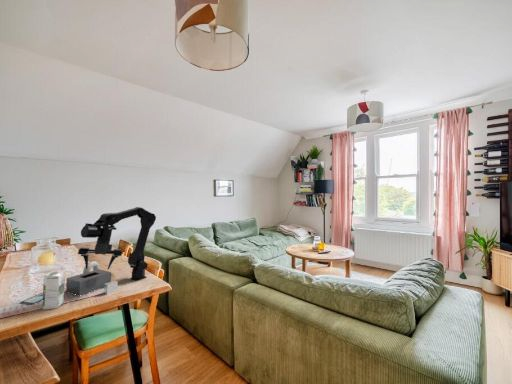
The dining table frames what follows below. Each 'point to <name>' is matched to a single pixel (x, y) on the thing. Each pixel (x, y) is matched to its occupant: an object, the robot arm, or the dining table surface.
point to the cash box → (87, 282)
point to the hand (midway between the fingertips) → (97, 269)
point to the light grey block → (110, 287)
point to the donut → (90, 265)
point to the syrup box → (53, 290)
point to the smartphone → (33, 299)
